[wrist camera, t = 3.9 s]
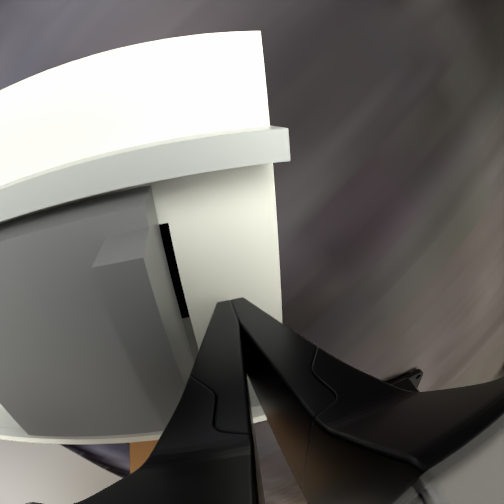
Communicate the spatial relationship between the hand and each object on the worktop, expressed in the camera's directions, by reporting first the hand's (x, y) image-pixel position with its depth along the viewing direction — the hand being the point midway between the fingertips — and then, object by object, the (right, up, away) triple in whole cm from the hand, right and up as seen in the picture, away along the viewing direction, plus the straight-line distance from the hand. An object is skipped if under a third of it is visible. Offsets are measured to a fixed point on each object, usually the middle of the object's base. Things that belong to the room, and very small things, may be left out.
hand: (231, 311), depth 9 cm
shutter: (-6, -1, 0) cm, 6 cm away
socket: (-9, 0, +2) cm, 9 cm away
